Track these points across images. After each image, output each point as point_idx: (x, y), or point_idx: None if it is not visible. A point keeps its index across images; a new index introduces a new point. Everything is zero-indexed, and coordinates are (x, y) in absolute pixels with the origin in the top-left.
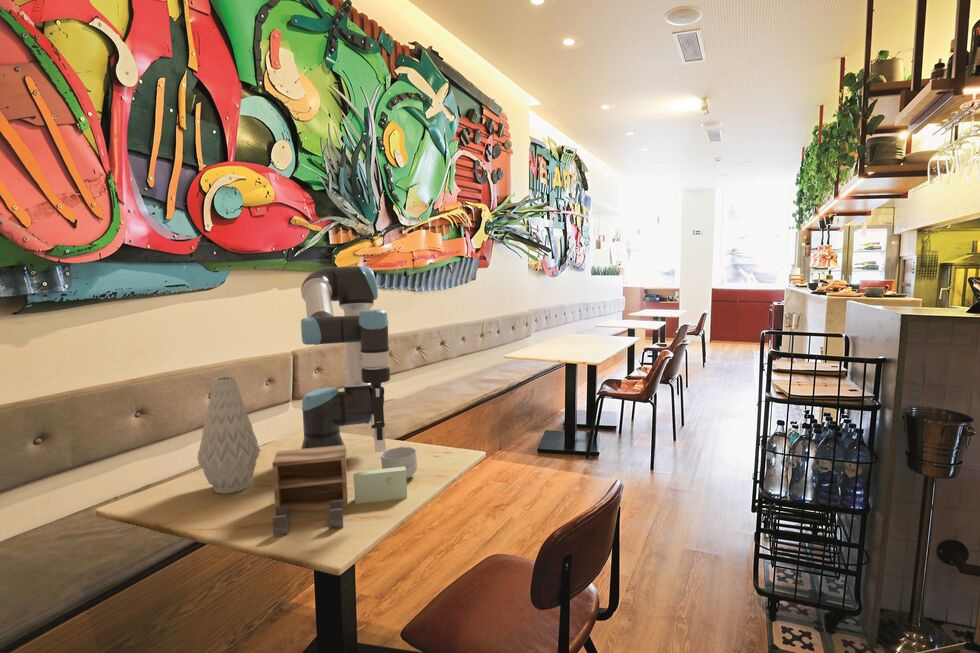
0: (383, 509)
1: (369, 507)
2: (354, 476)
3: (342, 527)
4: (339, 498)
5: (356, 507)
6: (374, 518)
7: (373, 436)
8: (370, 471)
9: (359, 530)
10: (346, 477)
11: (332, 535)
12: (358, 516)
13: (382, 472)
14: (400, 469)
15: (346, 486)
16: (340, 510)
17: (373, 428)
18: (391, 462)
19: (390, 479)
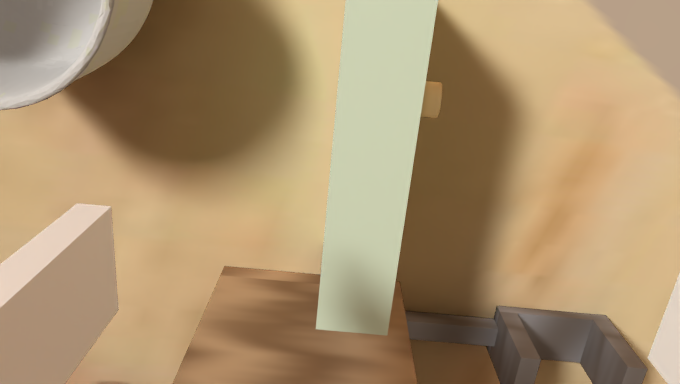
0: (508, 132)
1: (450, 192)
2: (386, 328)
3: (605, 318)
4: None
5: (421, 246)
6: (588, 187)
7: (110, 309)
8: (353, 235)
9: (670, 260)
10: (277, 335)
11: None
12: (526, 249)
13: (411, 162)
14: (407, 18)
15: (394, 339)
16: (642, 373)
17: (59, 374)
18: (108, 37)
19: (439, 100)
